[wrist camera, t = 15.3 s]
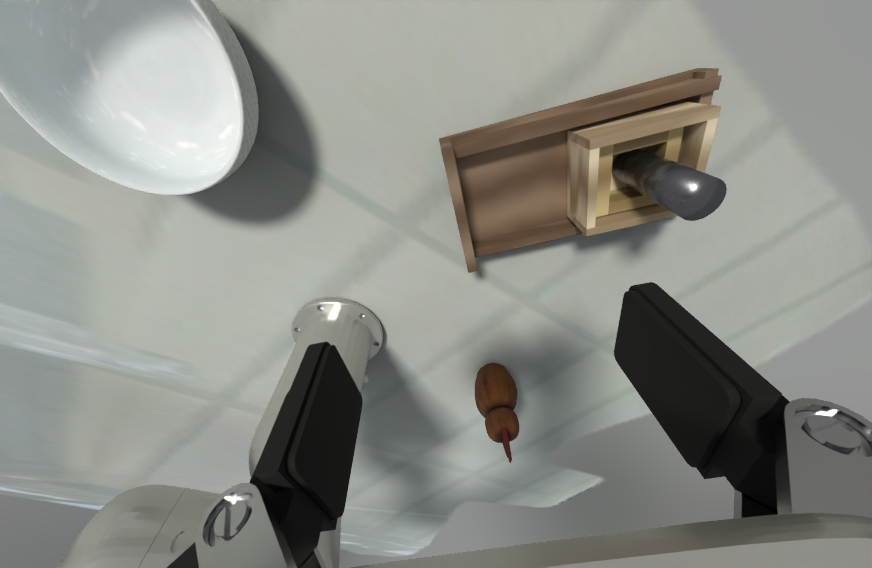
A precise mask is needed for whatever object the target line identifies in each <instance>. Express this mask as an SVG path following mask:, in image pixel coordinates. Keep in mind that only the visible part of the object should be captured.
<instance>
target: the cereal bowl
mask: <svg viewBox="0 0 872 568" xmlns="http://www.w3.org/2000/svg"><path fill="white" fill-rule="evenodd" d="M0 91H1V93H2V94H3V95H4V97H5V98H6V99H7V100H8V102H9V103H10V104H11V105H12V106H13V107H14V109H15V110H16V111H17V112H18V113H19V114H20V115H21V116H22V117H23V118H24V119H25V120H26V121H27V122H28V123H29V124H30V125H31V126H32V127H33V128H34V129H35V130H36V131H37V132H38V133H39V134H40V135H41V136H42V137H43V138H45V139H46V140H47V141H48V142H49V143H51V144H52V145H53V146H54V147H56V148H57V149H58V150H60V151H61V152H62V153H64V154H65V155H66V156H68V157H69V158H71V159H72V160H74V161H75V162H77V163H78V164H80V165H81V166H83V167H85V168H87V169H88V170H90V171H92V172H94V173H96V174H98V175H100V176H102V177H103V178H106V179H108V180H110V181H112V182H114V183H117V184H119V185H122V186H125V187H127V188H131V189H134V190H138V191H141V192H146V193H151V194H158V195H171V196H175V195H187V194H193V193H197V192H201V191H203V190H206V189H209V188H211V187H213V186H215V185H217V184H218V183H220V182H222V181H223V180H225V179H226V178H227V177H229V176H231V175H232V173H233V172H235V171H236V170H237V169H238V168H239V166H241V165H242V163H244V161H245V159H246V158H247V156H248V154H249V152H250V150H251V148H252V146H253V144H254V141H255V136H256V134H257V128H258V121H259V118H258V113H259V111H258V109H259V106H258V98H257V92H256V86H255V82H254V79H253V74H252V71H251V69H250V66H249V64H248V61H247V58H246V56H245V54H244V51H243V49H242V47H241V45H240V43H239V41H238V40H237V38H236V35H235V33H234V32H233V31H232V29H231V28H230V26H229V25H228V23H227V21H226V20H225V18H224V17H223V16H222V14H221V13H220V12H219V10H218V9H217V8H216V6H215V4H214V3H213V2H212V1H211V0H0Z"/></svg>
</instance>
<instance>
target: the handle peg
mask: <svg viewBox="0 0 872 568" xmlns="http://www.w3.org/2000/svg"><path fill="white" fill-rule="evenodd" d="M612 174H613V176H614V178H616V179H617V180H619V181H621V182H622V183H624V184H626V185H627V186H629V187H631V188H632V189H634V190H636V191H637V192H639V193H641V194H643V195H644V196H646V197H648V198H649V199H651V200H653V201H654V202H656V203H658V204H659V205H661V206H663V207H665V208H666V209H668V210H670V211H671V212H673V213H675V214H676V215H678V216H680V217H681V218H683V219H685V220H689V221H694V220H699V219H702V218H704V217H706V216H708V215H709V214H711V213H712V212H714V211H715V210H716V209H717V208H718V207H719V206H720V204H721V203H722V201H723V200H724V198H725V195H726V184H725V183H724V182H723V181H722V180H721V179H719V178H716V177H713V176H711V175H708V174H706V173H703V172H700V171H698V170H695V169H693V168H690V167H687V166H685V165H682V164H680V163H677V162H674V161H672V160H669V159H666V158H664V157H661V156H659V155H656V154H653V153H651V152H648V151H646V150H643V149H640V148H638V149H634V150H631V151H627V152H623V153H620V154H619V155H618V156H617V157H616V158H615V160H614V162H613V165H612Z"/></svg>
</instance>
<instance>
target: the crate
mask: <svg viewBox="0 0 872 568" xmlns="http://www.w3.org/2000/svg"><path fill="white" fill-rule="evenodd" d="M720 109H721V106H714V105H707V104H700V103H692V102H685V101H675V102H671V103H667V104H664V105H660V106H656V107H652V108H648V109H645V110H641V111H637V112H633V113H629V114H626V115H622V116H618V117H614V118H610V119H607V120H603V121H599V122H595V123H591V124H588V125H584V126H580V127H576V128H572V129H569V130H567V217H568V218H569V219H570V220H571V221H572V222H573V223H574V224H575V225H576V226H577V227H578V228H579V229H580V230H581V231H582V232H583V233H584V235H585V236H591V235H595V234H600V233H604V232H609V231H613V230H618V229H622V228H627V227H631V226H635V225H640V224H644V223H649V222H653V221H658V220H662V219H667V218H671V217H676V216H678V215H676V214H675V213H673V212H671V211H670V210H668V209H666V208H665V207H663V206H661V205H659V204H658V203H656V202H654V201H653V200H651V199H649V198H648V197H646V196H644V195H643V194H641V193H639V192H637V191H636V190H634V189H632V188H631V187H629V186H627V185H626V184H624V183H622V182H621V181H619V180H617V179H616V178H614V176H613V174H612V165H613V162H614V160H615V158H616V157H617V156H618V155H619V154H620V153H623V152H627V151H631V150H634V149H638V148H640V149H643V150H646V151H648V152H651V153H653V154H656V155H659V156H661V157H664V158H666V159H669V160H672V161H674V162H677V163H680V164H682V165H685V166H687V167H690V168H693V169H695V170H698V171H700V172H703V173H705V169H706V165H707V161H708V157H709V153H710V149H711V145H712V141H713V137H714V133H715V129H716V125H717V121H718V117H719V113H720Z"/></svg>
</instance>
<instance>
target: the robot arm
mask: <svg viewBox="0 0 872 568" xmlns="http://www.w3.org/2000/svg"><path fill="white" fill-rule="evenodd" d="M292 335H293V338H294V340H295V342H296V345H295V347H294V350H293V352H292V354H291V356H290V358H289V360H288V363H287V365H286V367H285V369H284V371H283V374H282V376H281V378H280V380H279V382H278V384H277V387H276V389H275V391H274V393H273V395H272V397H271V400H270V402H269V404H268V406H267V408H266V410H265V413H264V415H263V417H262V419H261V421H260V423H259V425H258V427H257V429H256V432H255V434H254V436H253V439H252V442H251V446H250V450H249V470H250V476H251V480H250V483H241V484H238V485H236V486H233V487H231V488H230V489H228V490H227V491H225V492H224V493H222V494H217V493H211V492H206V491H200V490H195V489H189V488H181V487H175V486H167V485H145V486H140V487H136V488H133V489H130V490H128V491H126V492H124V493H122V494H120V495H118V496H117V497H116V498H114V499H113V500H111V501H110V502H109V503H107V504H106V505H105V506H104V507H103V508H102V509H101V510H100V511H99V512H98V513H97V514H96V515H95V516H94V517H93V518H92V519H91V521H90V522H89V523H88V524H87V525H86V526H85V527H84V529H83V530H82V531H81V533H80V534H79V535H78V537H77V538H76V539H75V540H74V542H73V543H72V544H71V546H70V547H69V549H68V550H67V552H66V553H65V555H64V556H63V558H62V559H61V560H60V562H59V563H58V565H57V567H56V568H339V562H340V533H341V516H342V515H343V512H344V508H345V502H346V497H347V491H348V485H349V479H350V473H351V467H352V462H353V456H354V450H355V444H356V438H357V433H358V427H359V421H360V415H361V409H362V396H361V393H362V388H363V384H366V383H367V382H368V381H369V377H368V375H367V373H366V367H367V362H368V360H370V359H371V358H372V357H374V356H375V355H376V354H377V353H378V351H379V350H380V348H381V345H382V340H383V330H382V326H381V324H380V322H379V320H378V319H377V318H376V316H375V315H374V314H373V313H372V312H370V311H369V310H368V309H366V308H365V307H363V306H362V305H359V304H357V303H355V302H352V301H348V300H345V299H337V298H326V299H320V300H316V301H313V302H311V303H309V304H307V305H305V306H304V307H303V308H302V309H301V310H300V311H299V312H298V313H297V315H296V317H295V319H294V321H293V323H292ZM614 356H615V359H616V361H617V363H618V364H619V366H620V367H621V369H622V370H623V372H624V373H625V374H626V376H627V377H628V379H629V380H630V382H631V383H632V385H633V386H634V387H635V389H636V390H637V392H638V393H639V395H640V396H641V397H642V399H643V400H644V402H645V403H646V405H647V406H648V408H649V409H650V410H651V412H652V413H653V415H654V416H655V418H656V419H657V420H658V422H659V423H660V425H661V426H662V428H663V429H664V431H665V432H666V433H667V435H668V436H669V438H670V439H671V441H672V442H673V443H674V445H675V446H676V448H677V449H678V451H679V452H680V454H681V455H682V456H683V458H684V459H685V461H686V462H687V463H688V464H689V465H690V466H692V467H696V468H697V469H698V470H699V472H700V473H701V475H702V476H703V477H704V479H708V478H716V477H722V476H725V477H726V478H727V480H728V481H729V482H730V483H731V485H732V486H733V487H734V518H733V519H727V520H718V521H708V522H699V523H690V524H683V525H674V526H667V527H658V528H650V529H642V530H634V531H626V532H618V533H610V534H602V535H593V536H586V537H578V538H570V539H562V540H555V541H546V542H539V543H531V544H523V545H515V546H508V547H500V548H493V549H484V550H477V551H469V552H462V553H454V554H447V555H439V556H432V557H424V558H417V559H409V560H402V561H395V562H387V563H379V564H372V565H366V566H360V567H353V568H872V423H871V422H870V421H868V420H867V419H865V418H864V417H863V416H861V415H859V414H857V413H855V412H853V411H851V410H849V409H847V408H845V407H843V406H840V405H837V404H834V403H831V402H827V401H823V400H818V399H809V398H801V399H796V400H793V401H791V402H789V401H788V400H787V399H786V398H785V397H784V396H782V395H781V394H782V393H781V392H779V391H778V390H777V389H776V388H775V387H774V386H773V385H771V384H770V383H769V382H768V381H767V380H766V379H764V378H763V377H762V376H761V375H760V374H759V373H757V372H756V371H755V370H754V369H753V368H752V367H751V366H750V365H748V364H747V363H746V362H745V361H744V360H743V359H742V358H740V357H739V356H738V355H737V354H736V353H735V352H734V351H732V350H731V349H730V348H729V347H728V346H727V345H726V344H724V343H723V342H722V341H721V340H720V339H719V338H717V337H716V336H715V335H714V334H713V333H712V332H711V331H709V330H708V329H707V328H706V327H705V326H704V325H703V324H701V323H700V322H699V321H698V320H697V319H696V318H695V317H693V316H692V315H691V314H690V313H689V312H688V311H687V310H685V309H684V308H683V307H682V306H681V305H680V304H679V303H677V302H676V301H675V300H674V299H673V298H672V297H670V296H669V295H668V294H667V293H666V292H665V291H664V290H662V289H661V288H660V287H659V286H658V285H657V284H655V283H652V282H650V283H645V284H639V285H634V286H631V287H630V288H629V291H627V292H625V294H624V298H623V303H622V309H621V315H620V320H619V326H618V332H617V338H616V343H615V349H614Z"/></svg>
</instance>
